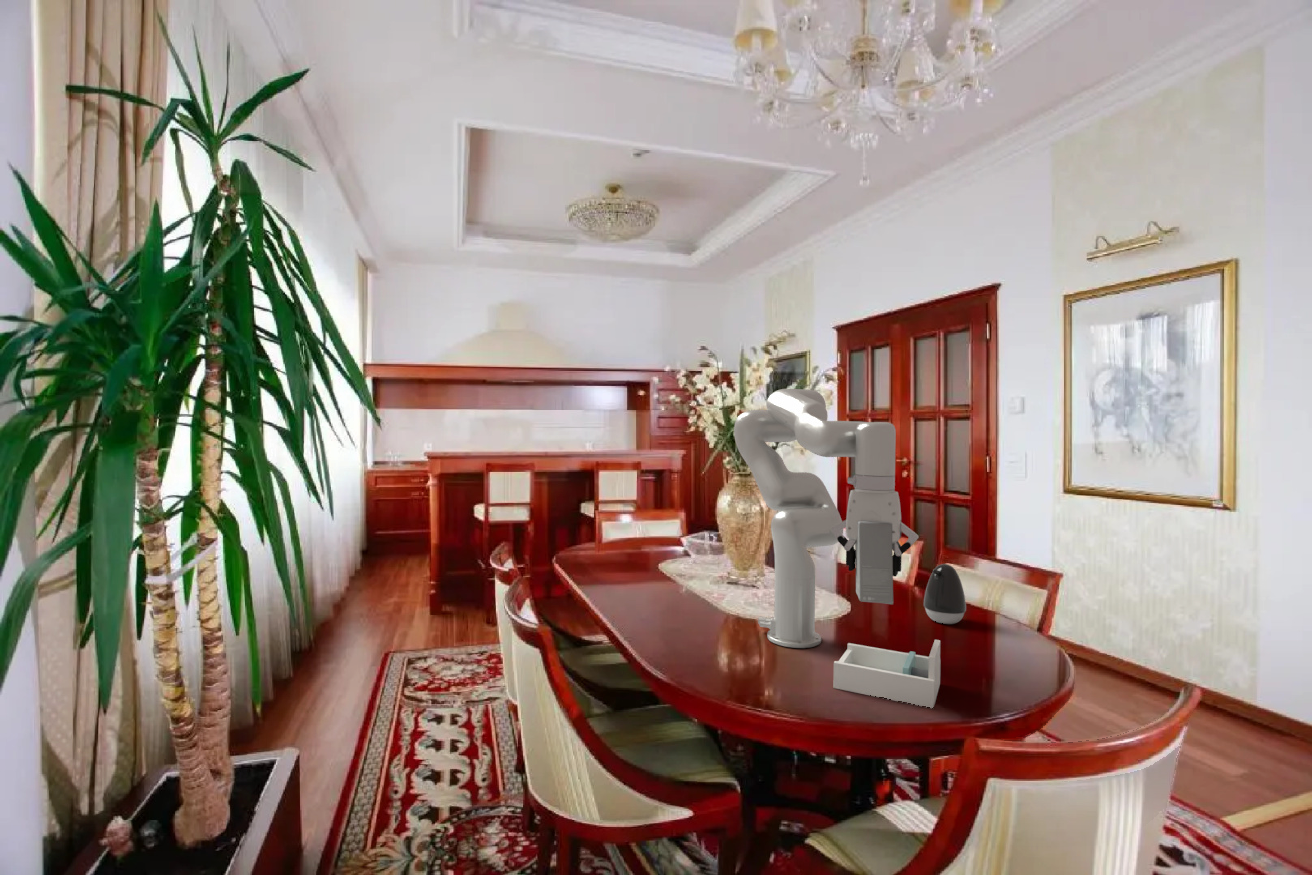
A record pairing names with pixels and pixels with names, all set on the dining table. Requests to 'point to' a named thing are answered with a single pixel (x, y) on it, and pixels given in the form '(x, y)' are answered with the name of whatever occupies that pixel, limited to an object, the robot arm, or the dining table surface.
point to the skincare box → (874, 562)
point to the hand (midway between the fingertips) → (873, 571)
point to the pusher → (913, 667)
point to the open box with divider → (888, 674)
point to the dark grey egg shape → (945, 596)
